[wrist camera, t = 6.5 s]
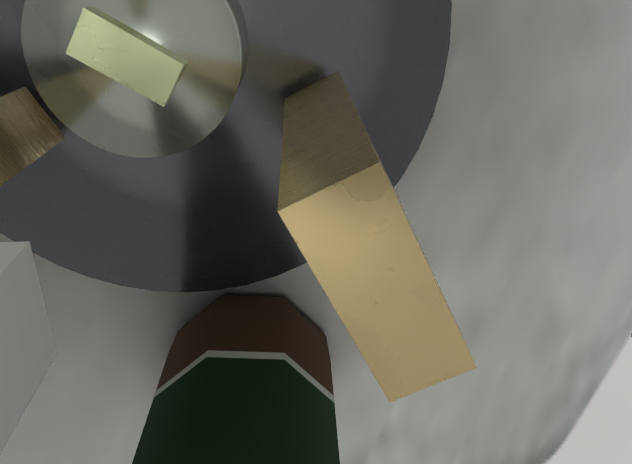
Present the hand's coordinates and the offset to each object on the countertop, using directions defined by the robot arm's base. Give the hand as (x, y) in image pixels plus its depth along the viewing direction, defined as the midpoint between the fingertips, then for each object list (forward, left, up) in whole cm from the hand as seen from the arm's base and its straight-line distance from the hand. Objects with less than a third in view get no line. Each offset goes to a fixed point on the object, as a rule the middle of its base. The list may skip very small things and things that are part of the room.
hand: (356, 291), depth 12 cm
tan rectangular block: (+1, 0, -11) cm, 11 cm away
